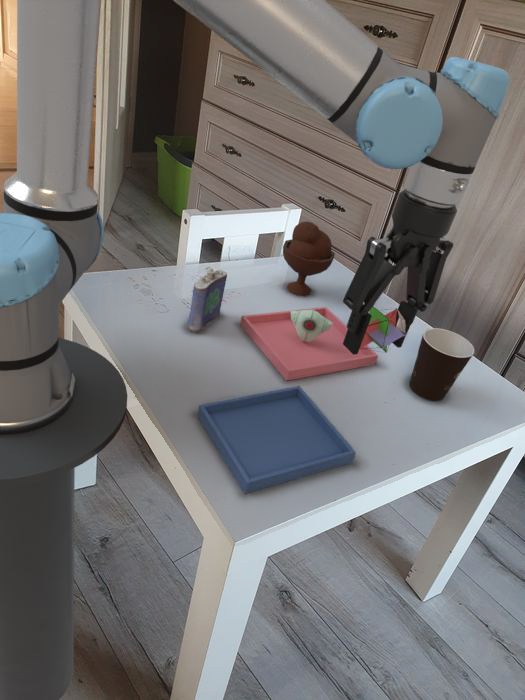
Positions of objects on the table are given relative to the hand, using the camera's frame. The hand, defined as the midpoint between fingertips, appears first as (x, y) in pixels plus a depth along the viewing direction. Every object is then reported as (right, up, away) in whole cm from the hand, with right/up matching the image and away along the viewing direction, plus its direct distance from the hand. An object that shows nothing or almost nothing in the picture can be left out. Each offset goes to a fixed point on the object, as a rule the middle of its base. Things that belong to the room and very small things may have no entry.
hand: (372, 345), depth 81 cm
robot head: (-9, +1, +19) cm, 21 cm away
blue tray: (-15, -13, -4) cm, 20 cm away
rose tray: (-8, 0, +19) cm, 21 cm away
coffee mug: (+14, -7, +15) cm, 22 cm away
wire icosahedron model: (0, 0, 0) cm, 1 cm away
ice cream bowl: (-9, +12, +37) cm, 40 cm away
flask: (-27, +4, +19) cm, 33 cm away
